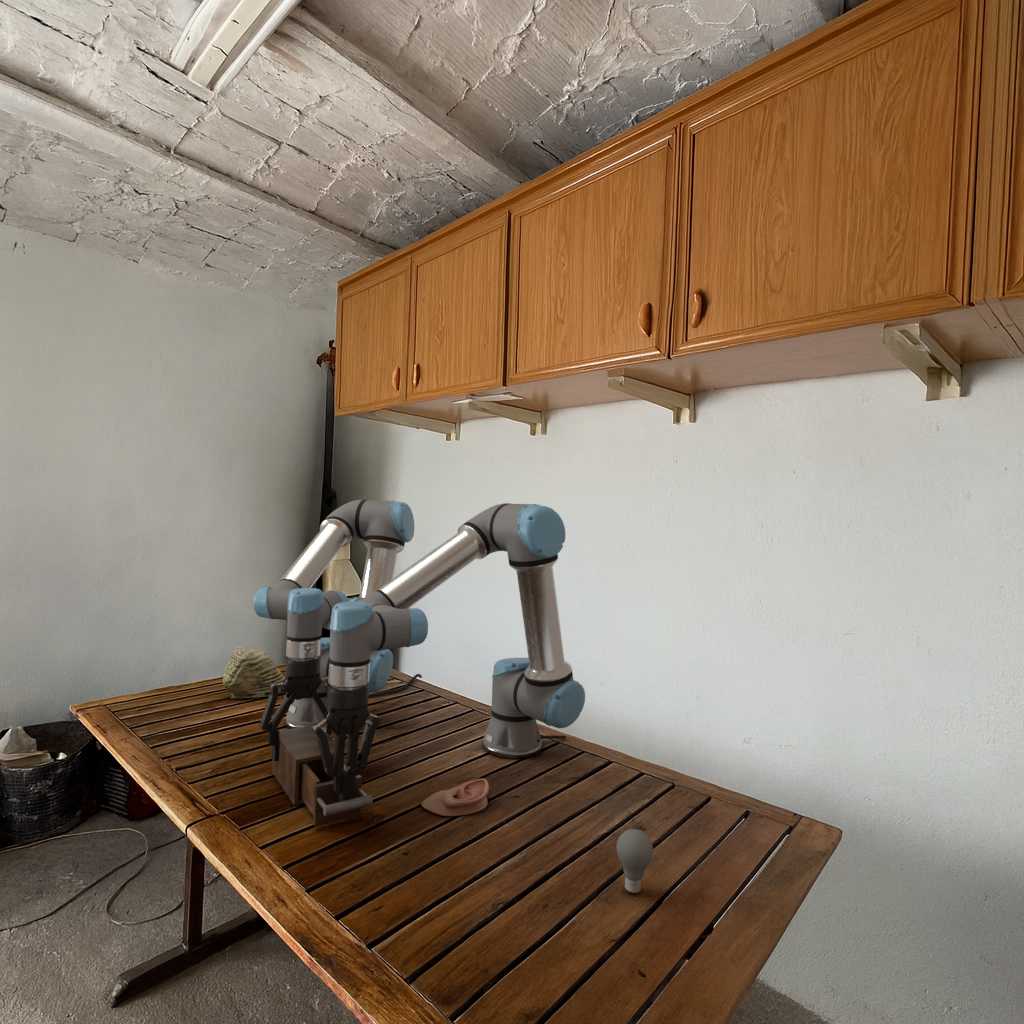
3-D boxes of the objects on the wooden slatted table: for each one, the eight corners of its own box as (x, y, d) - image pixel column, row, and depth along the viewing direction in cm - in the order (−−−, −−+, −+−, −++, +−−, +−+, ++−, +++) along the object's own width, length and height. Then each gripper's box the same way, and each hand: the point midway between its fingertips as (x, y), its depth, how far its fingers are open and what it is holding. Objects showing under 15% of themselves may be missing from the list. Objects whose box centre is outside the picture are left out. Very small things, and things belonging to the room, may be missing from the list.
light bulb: (610, 879, 108) (613, 822, 108) (644, 879, 109) (647, 822, 109) (619, 902, 102) (622, 840, 102) (655, 901, 103) (658, 840, 103)
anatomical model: (416, 792, 129) (434, 769, 140) (415, 812, 129) (434, 787, 140) (479, 801, 126) (493, 777, 137) (479, 821, 126) (492, 795, 137)
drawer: (371, 828, 120) (373, 789, 120) (324, 841, 115) (326, 799, 115) (332, 782, 139) (333, 747, 139) (290, 791, 134) (292, 755, 134)
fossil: (218, 695, 195) (220, 647, 195) (278, 685, 208) (279, 640, 207) (228, 703, 189) (230, 653, 188) (289, 692, 201) (290, 645, 201)
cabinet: (342, 794, 135) (344, 750, 135) (294, 805, 129) (295, 760, 129) (316, 763, 150) (318, 724, 150) (272, 772, 144) (273, 731, 144)
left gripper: (254, 666, 134) (250, 770, 135) (357, 655, 147) (353, 750, 147) (246, 658, 140) (243, 757, 141) (346, 648, 153) (342, 739, 154)
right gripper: (320, 694, 113) (314, 825, 113) (388, 685, 120) (383, 808, 121) (308, 683, 119) (302, 807, 120) (373, 675, 126) (368, 792, 127)
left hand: (299, 754), depth 144 cm, fingers closed on cabinet, 10 cm apart
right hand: (343, 807), depth 120 cm, fingers closed
